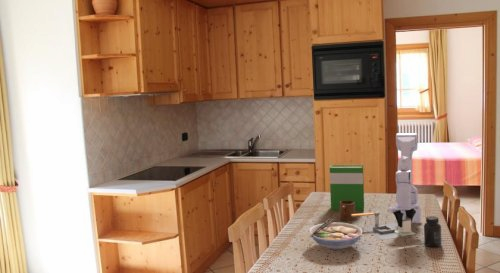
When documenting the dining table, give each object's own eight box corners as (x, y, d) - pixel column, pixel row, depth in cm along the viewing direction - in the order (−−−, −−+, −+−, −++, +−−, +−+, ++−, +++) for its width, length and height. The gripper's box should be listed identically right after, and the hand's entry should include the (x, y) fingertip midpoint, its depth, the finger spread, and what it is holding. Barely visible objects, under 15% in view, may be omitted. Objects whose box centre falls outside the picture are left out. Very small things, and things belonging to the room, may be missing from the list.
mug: (349, 225, 222) (349, 207, 221) (335, 224, 226) (334, 205, 224) (357, 218, 232) (356, 201, 231) (342, 217, 236) (342, 199, 235)
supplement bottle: (441, 242, 193) (440, 215, 192) (442, 248, 187) (442, 220, 185) (423, 241, 195) (423, 214, 194) (424, 247, 189) (424, 219, 187)
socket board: (394, 224, 220) (394, 211, 219) (417, 235, 203) (417, 221, 202) (361, 229, 216) (361, 215, 215) (381, 241, 198) (381, 227, 197)
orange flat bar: (380, 215, 213) (380, 213, 213) (352, 217, 213) (352, 215, 212) (378, 213, 216) (378, 211, 216) (351, 215, 215) (351, 213, 215)
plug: (405, 228, 208) (405, 216, 207) (411, 231, 204) (410, 218, 203) (398, 229, 207) (398, 217, 206) (403, 232, 203) (403, 219, 202)
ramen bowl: (351, 261, 178) (351, 241, 177) (299, 252, 190) (298, 234, 190) (370, 241, 199) (370, 223, 198) (322, 234, 211) (322, 217, 210)
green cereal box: (364, 207, 252) (363, 165, 249) (363, 211, 245) (362, 167, 242) (332, 206, 257) (330, 165, 254) (331, 210, 250) (329, 167, 247)
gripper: (394, 200, 198) (395, 230, 199) (423, 196, 201) (423, 226, 203) (385, 197, 205) (386, 226, 206) (413, 193, 208) (414, 221, 210)
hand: (404, 225), depth 205 cm, fingers closed on plug, 4 cm apart
